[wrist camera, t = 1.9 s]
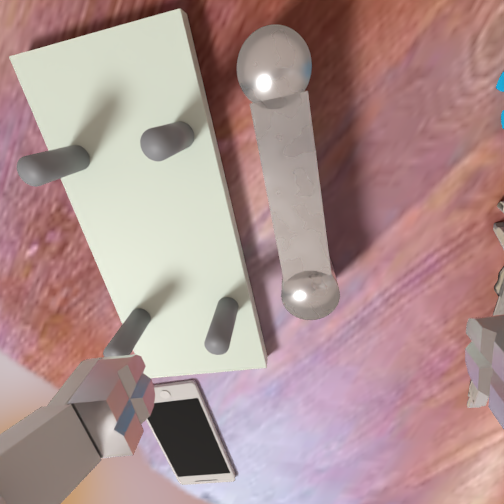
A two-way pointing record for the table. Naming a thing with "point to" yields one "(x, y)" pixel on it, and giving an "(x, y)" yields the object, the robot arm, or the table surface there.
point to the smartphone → (188, 435)
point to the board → (147, 191)
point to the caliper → (475, 396)
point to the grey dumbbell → (290, 165)
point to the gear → (502, 86)
